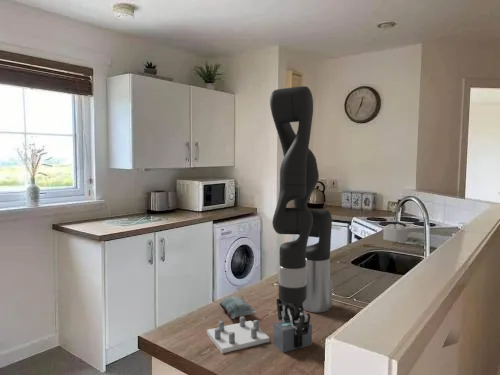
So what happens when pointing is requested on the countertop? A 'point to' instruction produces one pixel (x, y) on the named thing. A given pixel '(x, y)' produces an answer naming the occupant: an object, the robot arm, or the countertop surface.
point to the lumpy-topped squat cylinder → (395, 232)
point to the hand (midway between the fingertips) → (292, 342)
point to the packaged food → (237, 307)
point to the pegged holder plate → (237, 335)
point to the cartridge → (289, 336)
